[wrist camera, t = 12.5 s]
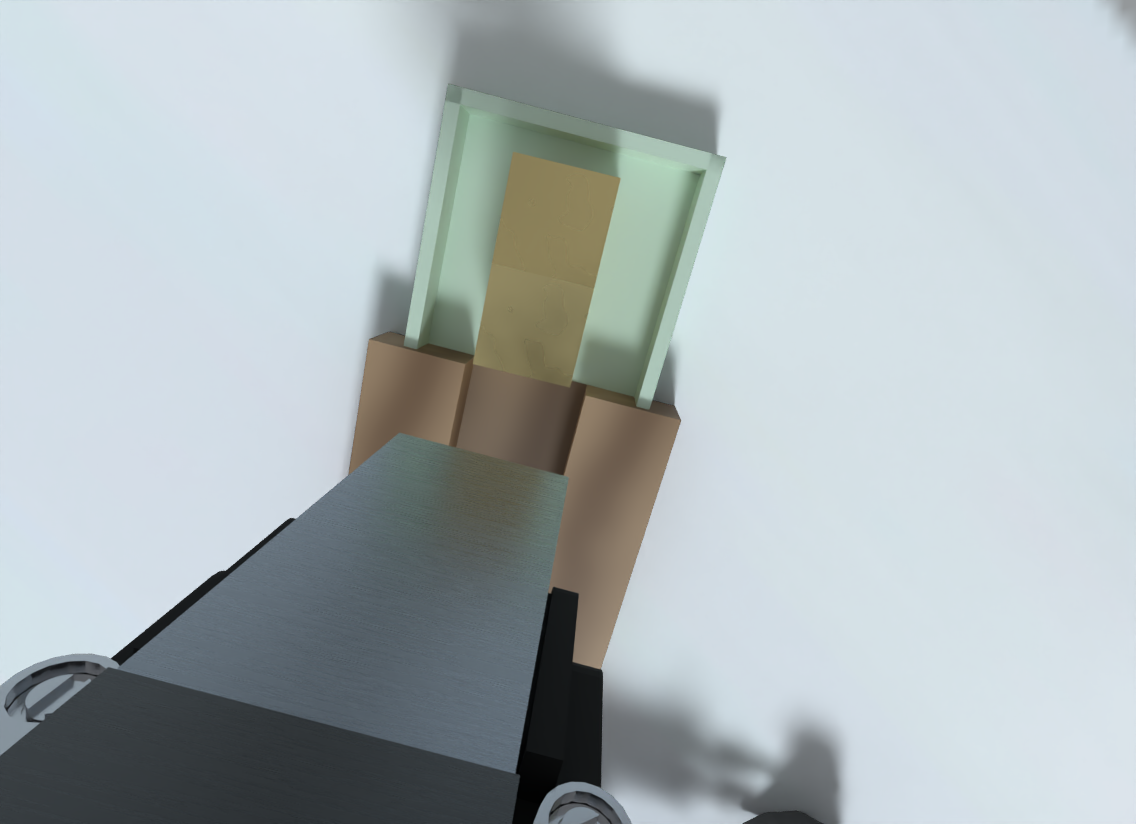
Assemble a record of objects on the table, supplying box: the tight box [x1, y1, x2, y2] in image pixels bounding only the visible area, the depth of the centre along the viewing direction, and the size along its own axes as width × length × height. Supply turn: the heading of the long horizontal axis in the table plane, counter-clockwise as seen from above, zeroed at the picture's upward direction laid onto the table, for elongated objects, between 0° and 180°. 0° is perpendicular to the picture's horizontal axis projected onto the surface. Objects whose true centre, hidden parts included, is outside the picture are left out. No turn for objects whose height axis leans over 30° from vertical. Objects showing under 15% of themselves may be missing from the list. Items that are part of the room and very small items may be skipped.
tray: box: [404, 84, 726, 410], centre depth 25 cm, size 11×11×2 cm
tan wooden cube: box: [492, 152, 621, 288], centre depth 23 cm, size 4×4×4 cm
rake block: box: [0, 433, 569, 824], centre depth 10 cm, size 4×5×11 cm
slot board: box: [348, 332, 681, 669], centre depth 28 cm, size 14×18×2 cm
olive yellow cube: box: [473, 263, 594, 387], centre depth 24 cm, size 4×4×4 cm
